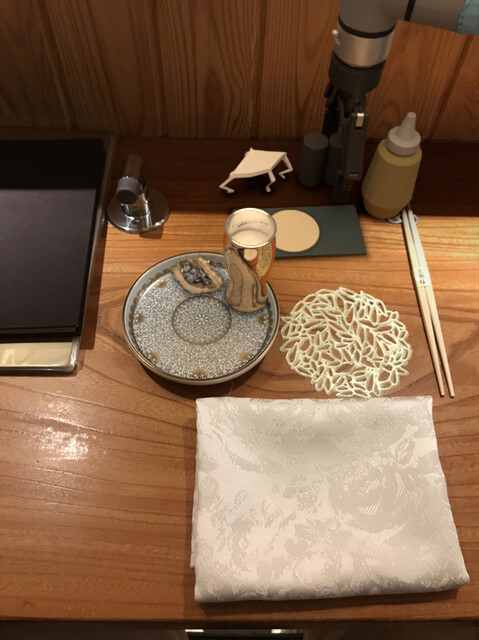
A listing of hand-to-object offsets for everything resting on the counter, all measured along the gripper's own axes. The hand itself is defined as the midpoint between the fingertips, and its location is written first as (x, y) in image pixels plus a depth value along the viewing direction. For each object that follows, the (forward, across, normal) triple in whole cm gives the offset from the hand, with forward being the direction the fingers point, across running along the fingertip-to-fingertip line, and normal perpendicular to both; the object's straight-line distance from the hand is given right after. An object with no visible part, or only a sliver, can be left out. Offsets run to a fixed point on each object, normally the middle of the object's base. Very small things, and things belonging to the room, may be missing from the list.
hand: (333, 170), depth 95 cm
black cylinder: (+2, 0, 0) cm, 2 cm away
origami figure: (+2, +1, -14) cm, 14 cm away
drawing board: (+2, +12, -7) cm, 14 cm away
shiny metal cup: (+2, +24, -16) cm, 29 cm away
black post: (+2, 0, -4) cm, 4 cm away
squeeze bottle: (+2, +7, +7) cm, 10 cm away
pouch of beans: (+2, +20, -23) cm, 31 cm away
